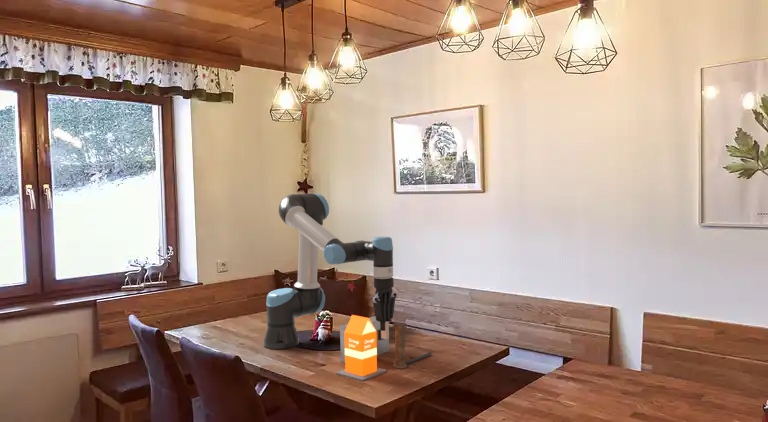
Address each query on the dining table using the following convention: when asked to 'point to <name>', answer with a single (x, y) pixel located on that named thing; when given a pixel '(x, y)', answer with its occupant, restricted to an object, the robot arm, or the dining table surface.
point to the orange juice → (360, 346)
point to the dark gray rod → (418, 358)
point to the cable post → (400, 345)
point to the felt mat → (361, 378)
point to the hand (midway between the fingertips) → (385, 338)
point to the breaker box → (380, 343)
